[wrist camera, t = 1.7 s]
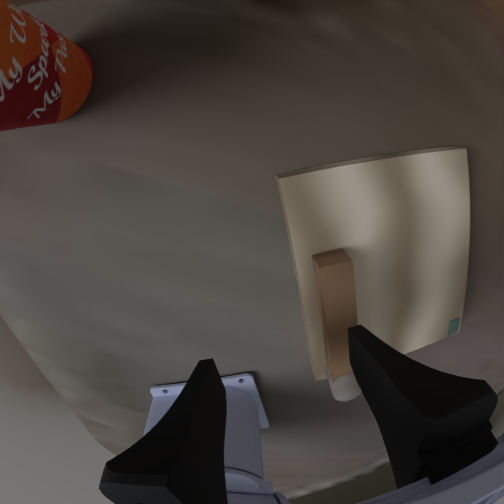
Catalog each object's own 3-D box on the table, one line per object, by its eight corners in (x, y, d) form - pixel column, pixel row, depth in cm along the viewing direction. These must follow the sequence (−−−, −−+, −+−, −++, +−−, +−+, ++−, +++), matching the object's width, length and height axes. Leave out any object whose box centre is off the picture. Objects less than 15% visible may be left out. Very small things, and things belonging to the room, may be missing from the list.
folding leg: (354, 374, 23) (364, 395, 20) (326, 381, 23) (333, 404, 20) (344, 247, 19) (359, 263, 16) (308, 256, 19) (318, 273, 16)
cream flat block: (311, 365, 25) (316, 381, 23) (275, 175, 19) (279, 178, 17) (448, 320, 24) (460, 332, 22) (450, 146, 19) (467, 148, 17)
